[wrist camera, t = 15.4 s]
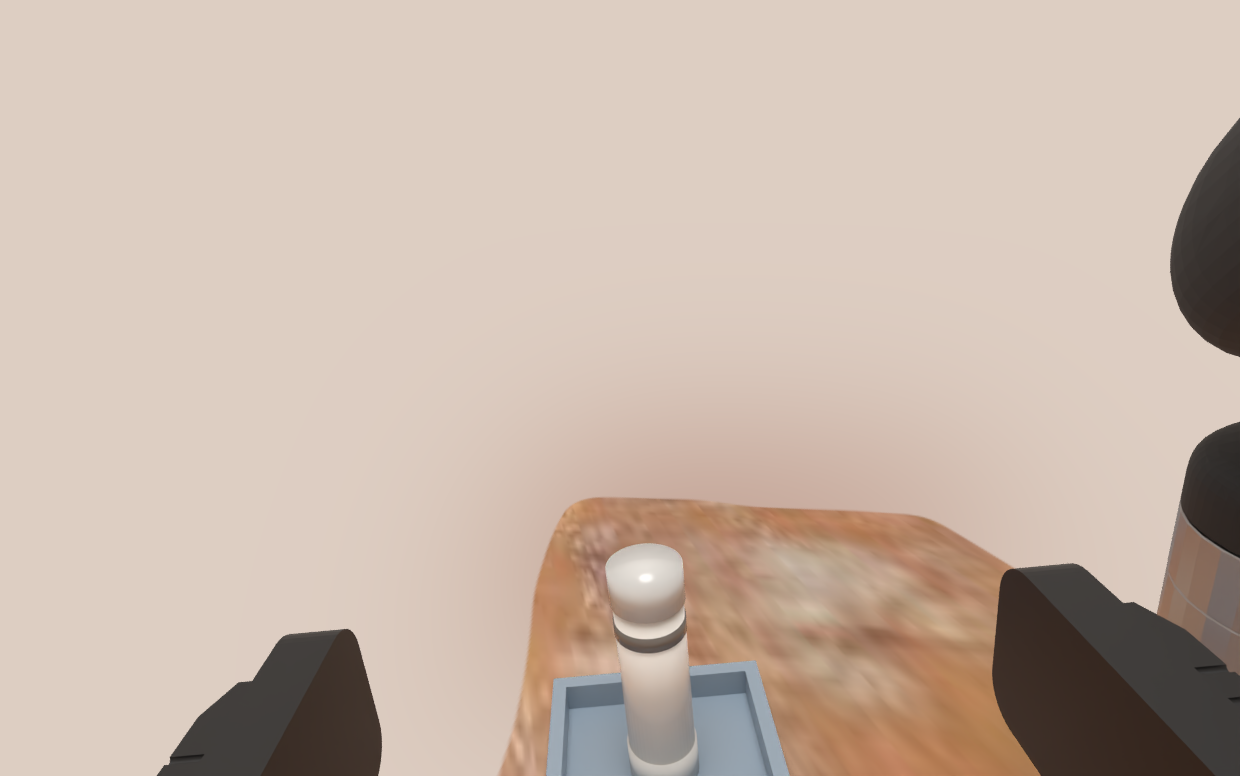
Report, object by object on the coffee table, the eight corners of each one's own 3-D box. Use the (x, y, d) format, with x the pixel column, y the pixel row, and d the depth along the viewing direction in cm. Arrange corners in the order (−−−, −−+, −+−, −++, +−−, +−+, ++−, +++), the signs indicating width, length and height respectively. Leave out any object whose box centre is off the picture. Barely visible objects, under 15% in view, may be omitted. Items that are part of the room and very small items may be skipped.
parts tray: (756, 692, 45) (755, 660, 44) (803, 861, 35) (803, 823, 34) (558, 710, 45) (553, 678, 44) (546, 883, 35) (540, 847, 34)
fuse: (695, 735, 41) (678, 540, 37) (703, 792, 38) (686, 583, 33) (629, 741, 41) (605, 547, 37) (631, 798, 38) (605, 591, 33)
